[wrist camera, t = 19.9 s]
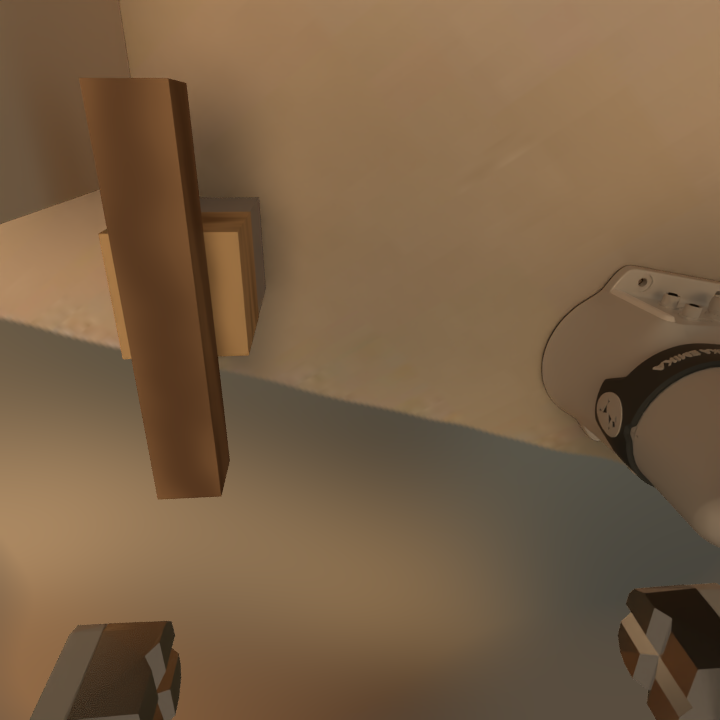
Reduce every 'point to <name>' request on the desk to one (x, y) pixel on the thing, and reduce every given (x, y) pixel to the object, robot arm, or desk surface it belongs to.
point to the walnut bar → (161, 275)
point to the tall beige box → (51, 97)
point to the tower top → (213, 282)
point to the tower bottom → (254, 208)
